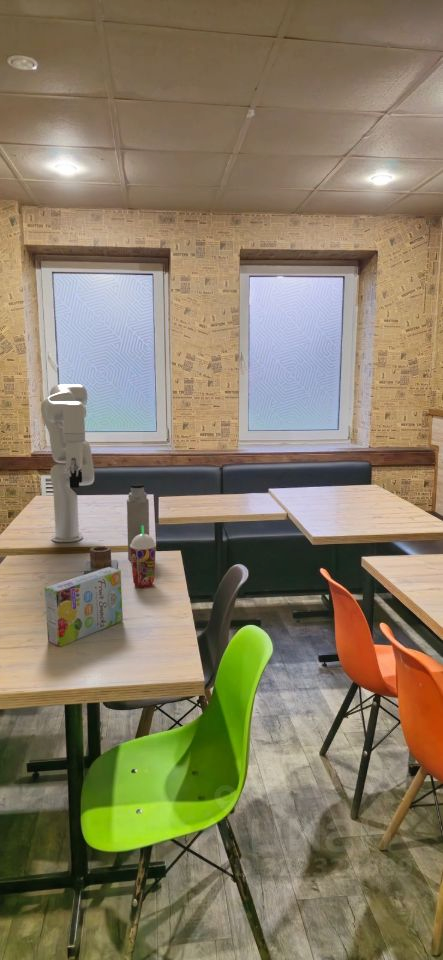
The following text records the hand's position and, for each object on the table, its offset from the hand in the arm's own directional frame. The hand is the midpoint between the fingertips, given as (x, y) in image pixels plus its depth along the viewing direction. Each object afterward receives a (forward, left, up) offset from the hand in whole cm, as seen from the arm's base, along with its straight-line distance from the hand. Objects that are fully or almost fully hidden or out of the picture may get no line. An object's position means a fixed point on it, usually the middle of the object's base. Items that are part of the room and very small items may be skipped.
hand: (76, 484), depth 218 cm
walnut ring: (+12, +9, -27) cm, 31 cm away
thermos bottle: (0, +22, -28) cm, 36 cm away
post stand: (+12, +9, -28) cm, 32 cm away
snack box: (+64, +9, -28) cm, 71 cm away
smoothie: (+30, +24, -28) cm, 48 cm away
